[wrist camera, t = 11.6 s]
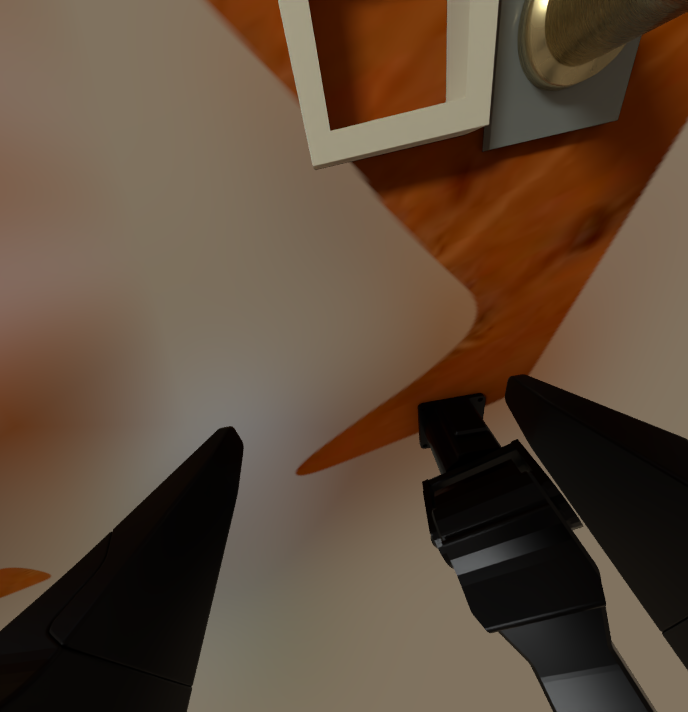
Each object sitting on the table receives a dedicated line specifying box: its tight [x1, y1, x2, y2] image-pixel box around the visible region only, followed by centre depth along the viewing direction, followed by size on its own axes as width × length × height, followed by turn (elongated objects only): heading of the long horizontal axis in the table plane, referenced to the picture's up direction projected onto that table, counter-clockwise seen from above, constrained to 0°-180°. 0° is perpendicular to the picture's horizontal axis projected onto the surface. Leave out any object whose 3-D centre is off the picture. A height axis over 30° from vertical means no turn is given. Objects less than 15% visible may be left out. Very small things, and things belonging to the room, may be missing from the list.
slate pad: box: [482, 0, 641, 152], centre depth 13 cm, size 9×7×1 cm
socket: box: [278, 0, 499, 170], centre depth 12 cm, size 9×9×2 cm
